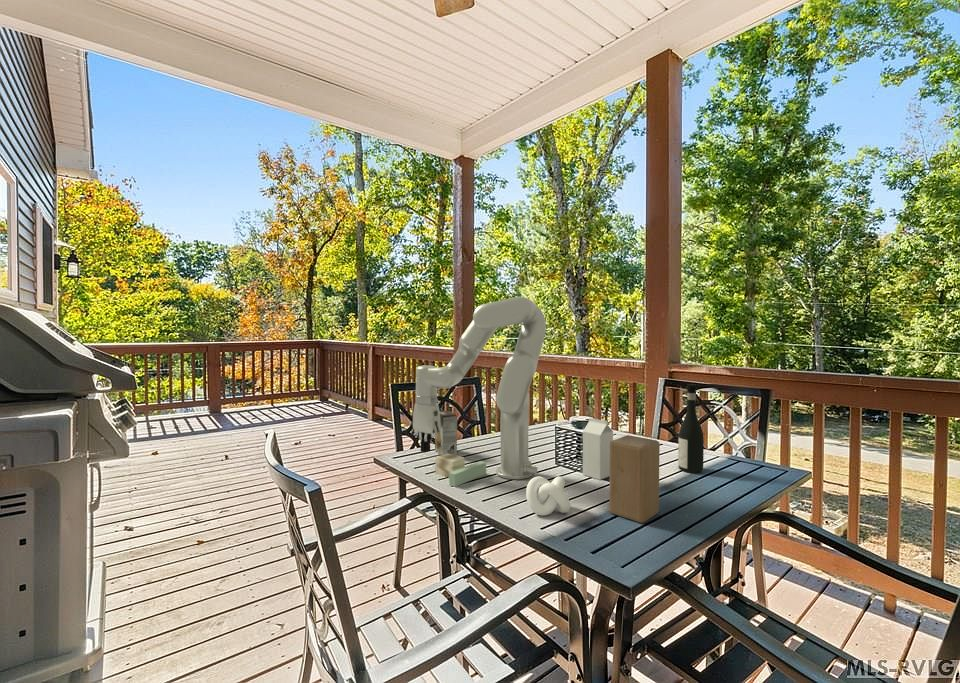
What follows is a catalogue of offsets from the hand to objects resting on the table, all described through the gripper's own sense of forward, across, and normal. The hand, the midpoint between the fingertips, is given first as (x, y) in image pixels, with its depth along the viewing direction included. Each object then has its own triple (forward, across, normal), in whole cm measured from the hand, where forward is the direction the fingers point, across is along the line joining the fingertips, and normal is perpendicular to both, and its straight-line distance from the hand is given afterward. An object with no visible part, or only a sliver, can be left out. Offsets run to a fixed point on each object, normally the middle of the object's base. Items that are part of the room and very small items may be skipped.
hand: (425, 451), depth 164 cm
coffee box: (+6, +7, -18) cm, 21 cm away
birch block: (+6, -12, 0) cm, 13 cm away
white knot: (+5, -54, +5) cm, 54 cm away
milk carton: (+4, -52, -30) cm, 60 cm away
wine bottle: (+4, -75, -55) cm, 93 cm away
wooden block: (+4, -73, -7) cm, 73 cm away
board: (+5, -20, 0) cm, 21 cm away
